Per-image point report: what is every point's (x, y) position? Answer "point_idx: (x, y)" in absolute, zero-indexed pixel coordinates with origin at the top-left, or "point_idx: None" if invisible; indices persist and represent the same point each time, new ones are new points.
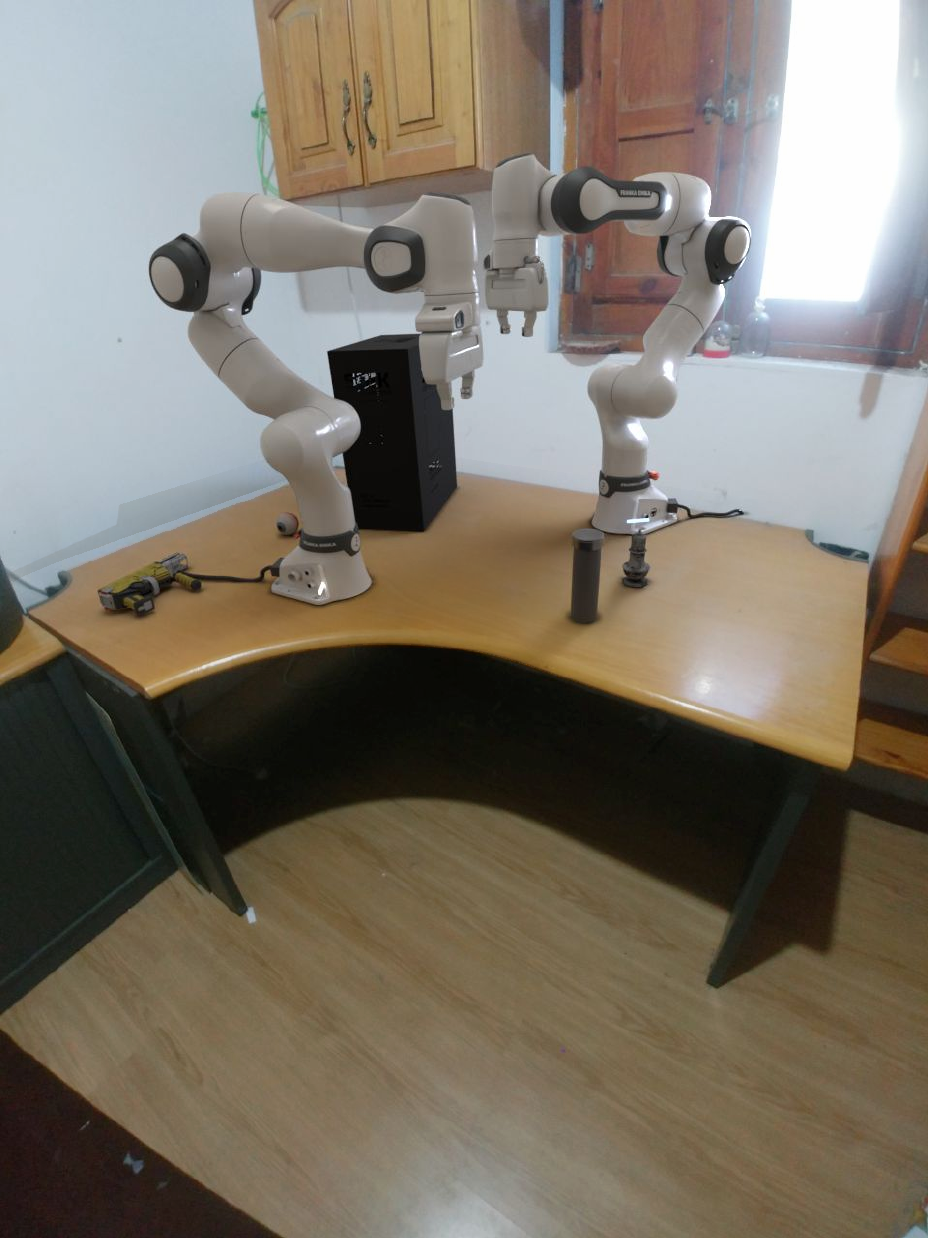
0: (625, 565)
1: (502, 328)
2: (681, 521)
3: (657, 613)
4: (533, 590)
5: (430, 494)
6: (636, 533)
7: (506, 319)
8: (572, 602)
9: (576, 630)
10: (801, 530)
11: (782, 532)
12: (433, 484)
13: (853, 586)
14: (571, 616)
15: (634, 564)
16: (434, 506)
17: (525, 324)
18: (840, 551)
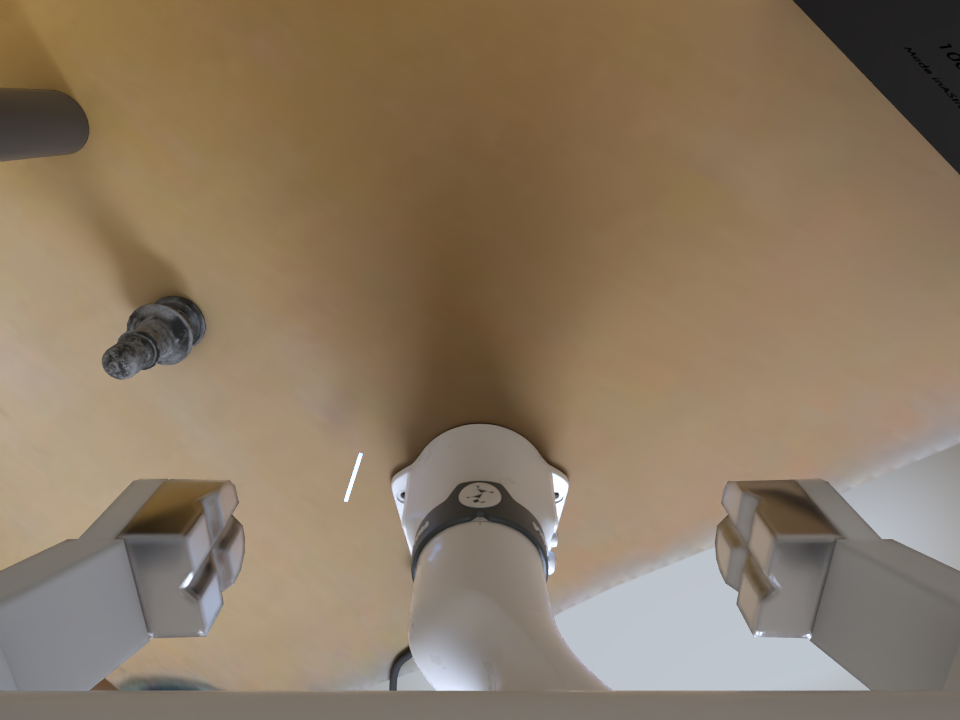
0: (165, 314)
1: (775, 510)
2: None
3: (30, 273)
4: (225, 87)
5: (896, 41)
6: (120, 362)
7: (882, 678)
8: (25, 89)
9: (3, 70)
10: None
11: (276, 686)
12: (944, 73)
13: None
14: (53, 90)
15: (139, 325)
16: (884, 71)
17: (40, 561)
18: None
